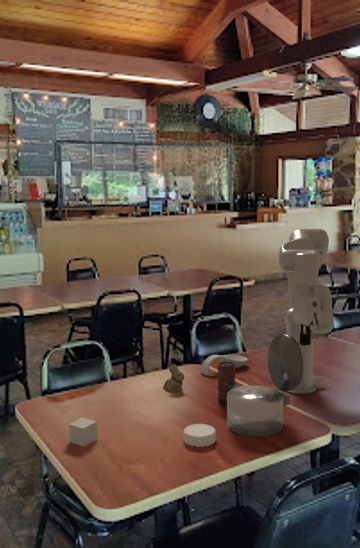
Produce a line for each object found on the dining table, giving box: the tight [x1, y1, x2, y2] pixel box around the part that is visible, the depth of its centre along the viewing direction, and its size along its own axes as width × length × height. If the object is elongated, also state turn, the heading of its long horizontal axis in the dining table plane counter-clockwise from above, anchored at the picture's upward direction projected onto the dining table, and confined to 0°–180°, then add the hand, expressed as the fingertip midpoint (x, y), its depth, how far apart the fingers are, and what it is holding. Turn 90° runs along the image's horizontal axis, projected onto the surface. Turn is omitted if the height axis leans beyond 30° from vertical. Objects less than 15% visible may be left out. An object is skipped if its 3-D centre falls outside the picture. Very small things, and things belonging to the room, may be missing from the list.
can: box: [217, 362, 237, 405], centre depth 203 cm, size 6×6×14 cm
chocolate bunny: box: [162, 363, 185, 392], centre depth 216 cm, size 6×8×10 cm
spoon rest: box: [200, 354, 249, 376], centre depth 240 cm, size 24×12×7 cm, turn 131°
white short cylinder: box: [182, 423, 217, 448], centre depth 172 cm, size 10×10×4 cm
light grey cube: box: [68, 417, 98, 448], centre depth 173 cm, size 6×6×6 cm
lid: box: [267, 333, 303, 393], centre depth 185 cm, size 19×19×4 cm
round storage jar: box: [226, 381, 290, 437], centre depth 186 cm, size 20×26×10 cm
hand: (305, 344), depth 186 cm, fingers closed
